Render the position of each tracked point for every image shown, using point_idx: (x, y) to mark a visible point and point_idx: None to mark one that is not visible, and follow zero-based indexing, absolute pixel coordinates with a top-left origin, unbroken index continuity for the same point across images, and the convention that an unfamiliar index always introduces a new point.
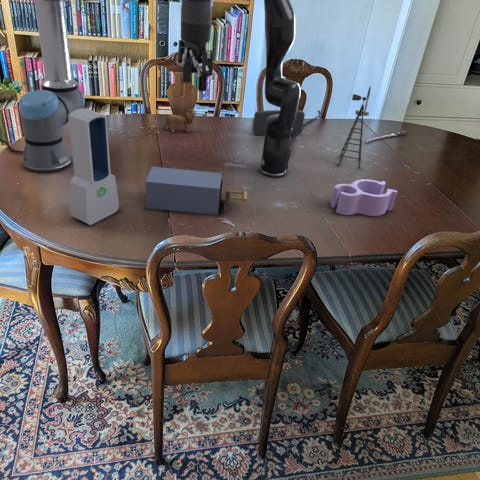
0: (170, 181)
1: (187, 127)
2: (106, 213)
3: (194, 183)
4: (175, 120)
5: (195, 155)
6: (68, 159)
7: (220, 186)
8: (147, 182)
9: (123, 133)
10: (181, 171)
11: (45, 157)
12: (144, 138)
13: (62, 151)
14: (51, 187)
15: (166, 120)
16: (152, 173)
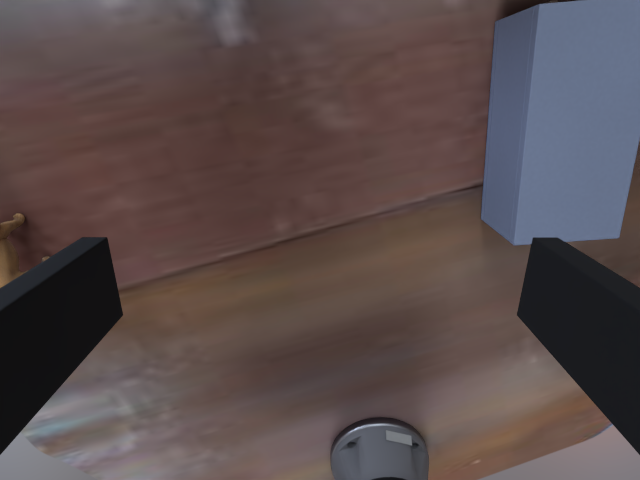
0: (616, 170)
1: (12, 223)
2: None
3: (629, 92)
4: (15, 271)
5: (201, 155)
6: (379, 429)
7: None
8: (619, 231)
9: (136, 376)
10: (540, 152)
11: (425, 469)
12: (143, 321)
13: (392, 454)
14: (485, 410)
15: None
16: (563, 232)
